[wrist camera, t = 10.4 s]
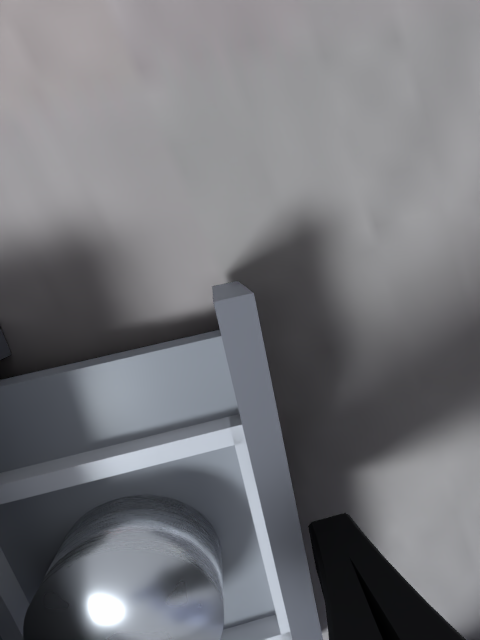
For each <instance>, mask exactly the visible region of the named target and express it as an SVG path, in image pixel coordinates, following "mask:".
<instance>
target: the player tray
mask: <svg viewBox="0 0 480 640" xmlns="http://www.w3.org/2000/svg"><path fill="white" fill-rule="evenodd" d="M212 288H213V302H214V307H215V311H216V315H217V320H218V324H219V328H220V330H216V331H212V332H207V333H203V334H199V335H194V336H190V337H186V338H181V339H177V340H173V341H168V342H164V343H159V344H155V345H151V346H146V347H142V348H138V349H133V350H129V351H125V352H120V353H116V354H112V355H107V356H103V357H98V358H94V359H90V360H85V361H81V362H77V363H72V364H68V365H64V366H59V367H55V368H51V369H46V370H42V371H37V372H33V373H29V374H24V375H20V376H16V377H11V378H7V379H3V380H0V640H24V639H23V624H24V618H25V615H26V612H27V609H28V607H29V605H30V603H31V601H32V599H33V597H34V595H35V593H36V592H37V590H38V588H39V586H40V584H41V582H42V580H43V578H44V576H45V575H46V573H47V571H48V569H49V567H50V565H51V563H52V561H53V559H54V558H55V556H56V554H57V552H58V550H59V548H60V546H61V544H62V543H63V541H64V539H65V537H66V535H67V533H68V532H69V531H70V529H71V528H72V526H73V525H74V524H75V523H76V522H77V521H78V520H79V519H80V518H81V517H83V516H84V515H85V514H86V513H88V512H89V511H91V510H93V509H94V508H96V507H98V506H100V505H102V504H104V503H106V502H109V501H112V500H115V499H118V498H123V497H128V496H135V495H155V496H163V497H167V498H172V499H175V500H178V501H180V502H183V503H185V504H187V505H189V506H191V507H193V508H194V509H196V510H197V511H199V512H200V513H201V514H202V515H203V516H204V517H205V518H207V519H208V521H209V522H210V523H211V524H212V526H213V527H214V529H215V531H216V533H217V535H218V537H219V540H220V544H221V549H222V575H223V603H224V626H223V632H222V635H221V638H220V640H323V638H322V633H321V628H320V623H319V617H318V612H317V607H316V602H315V597H314V592H313V587H312V582H311V577H310V572H309V567H308V562H307V557H306V552H305V547H304V542H303V537H302V532H301V527H300V522H299V517H298V512H297V507H296V502H295V497H294V492H293V487H292V482H291V477H290V472H289V467H288V462H287V457H286V452H285V447H284V442H283V437H282V432H281V427H280V422H279V417H278V412H277V407H276V402H275V397H274V392H273V387H272V382H271V376H270V371H269V366H268V361H267V356H266V351H265V346H264V341H263V336H262V331H261V326H260V321H259V316H258V311H257V306H256V301H255V296H254V293H253V292H252V291H251V290H249V289H248V288H246V287H245V286H244V285H242V284H241V283H240V282H238V281H235V282H230V283H226V284H221V285H216V286H212Z"/></svg>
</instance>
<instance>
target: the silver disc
mask: <svg viewBox="0 0 480 640" xmlns="http://www.w3.org/2000/svg"><path fill="white" fill-rule="evenodd" d="M223 626H224V603H223V575H222V549H221V544H220V540H219V537H218V535H217V533H216V531H215V529H214V527H213V526H212V524H211V523H210V522H209V521H208V519H207V518H205V517H204V516H203V515H202V514H201V513H200V512H199V511H197V510H196V509H194V508H193V507H191V506H189V505H187V504H185V503H183V502H180V501H178V500H175V499H172V498H167V497H163V496H155V495H135V496H128V497H123V498H118V499H115V500H112V501H109V502H106V503H104V504H102V505H100V506H98V507H96V508H94V509H93V510H91V511H89V512H88V513H86V514H85V515H84V516H83V517H81V518H80V519H79V520H78V521H77V522H76V523H75V524H74V525H73V526H72V528H71V529H70V531H69V532H68V533H67V535H66V537H65V539H64V541H63V543H62V544H61V546H60V548H59V550H58V552H57V554H56V556H55V558H54V559H53V561H52V563H51V565H50V567H49V569H48V571H47V573H46V575H45V576H44V578H43V580H42V582H41V584H40V586H39V588H38V590H37V592H36V593H35V595H34V597H33V599H32V601H31V603H30V605H29V607H28V609H27V612H26V615H25V618H24V624H23V639H24V640H220V638H221V635H222V632H223Z"/></svg>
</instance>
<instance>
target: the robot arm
mask: <svg viewBox="0 0 480 640" xmlns="http://www.w3.org/2000/svg"><path fill="white" fill-rule="evenodd" d="M308 528H309V533H310V538H311V544H312V549H313V555H314V560H315V565H316V570H317V573H318V577H319V580H320V584H321V588H322V592H323V596H324V600H325V605H326V613H327V622H328V633H329V640H466V639H465V638H463V637H462V636H461V635H460V634H459V633H458V632H457V631H456V630H455V629H454V628H453V627H452V626H451V625H450V624H449V623H448V622H447V621H446V620H445V619H444V618H443V617H442V616H441V615H440V614H439V613H438V612H437V611H435V610H434V609H433V608H432V607H431V606H430V605H429V604H428V603H427V602H426V601H425V600H424V599H423V598H422V597H421V596H420V595H419V594H418V592H417V591H416V590H415V589H414V588H413V587H412V586H411V585H410V584H409V583H408V582H407V581H406V580H405V579H404V578H403V577H402V576H401V575H400V574H399V573H398V571H397V570H396V569H395V568H394V567H393V566H392V565H391V564H390V563H389V562H388V561H387V560H386V559H385V557H384V556H383V555H382V554H381V553H380V552H379V551H378V550H377V548H376V547H375V546H374V545H373V544H372V543H371V542H370V540H369V539H368V538H367V537H366V536H365V534H364V533H363V532H362V531H361V530H360V528H359V527H358V526H357V525H356V523H355V522H354V521H353V520H352V518H351V517H350V516H349V515H348V514H346V513H344V514H340V515H336V516H332V517H329V518H325V519H321V520H318V521H314V522H311V523H310V524H309V526H308Z"/></svg>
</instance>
